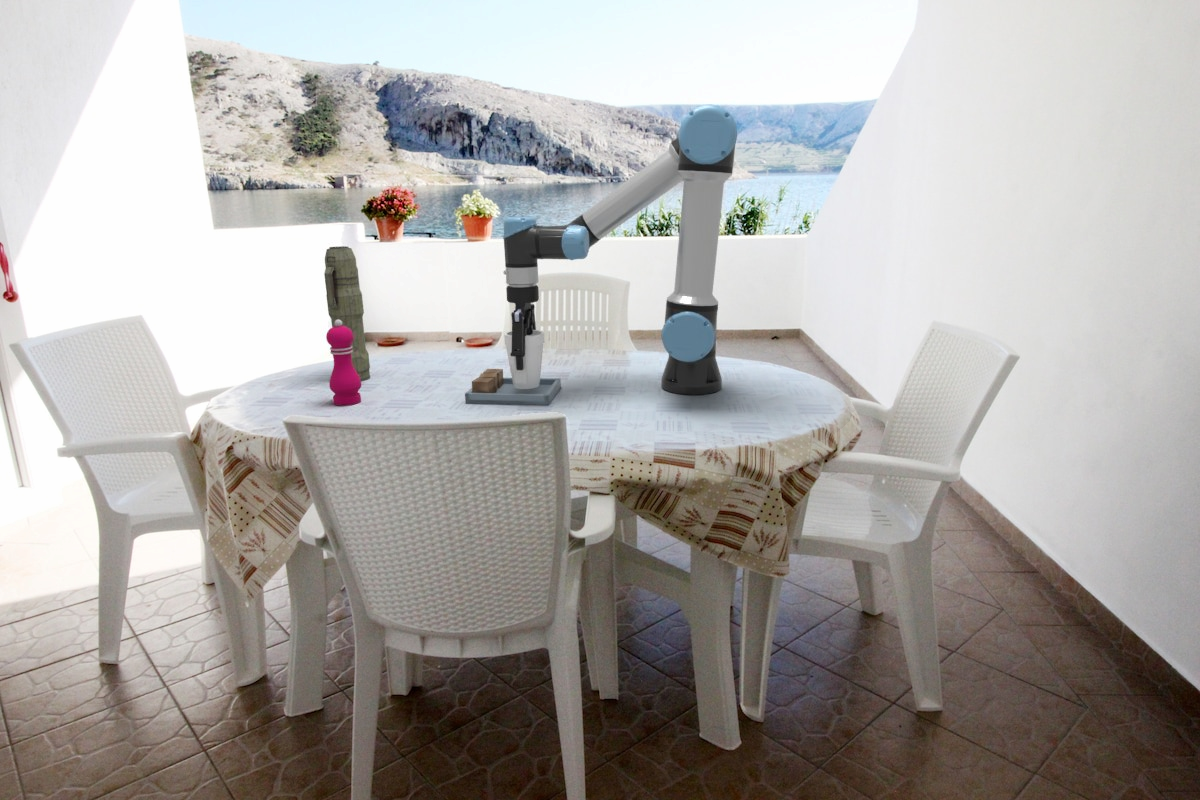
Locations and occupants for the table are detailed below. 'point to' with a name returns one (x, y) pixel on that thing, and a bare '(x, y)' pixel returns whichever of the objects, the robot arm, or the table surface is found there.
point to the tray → (518, 394)
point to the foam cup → (528, 358)
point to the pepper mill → (343, 366)
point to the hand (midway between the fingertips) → (526, 377)
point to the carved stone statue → (347, 302)
